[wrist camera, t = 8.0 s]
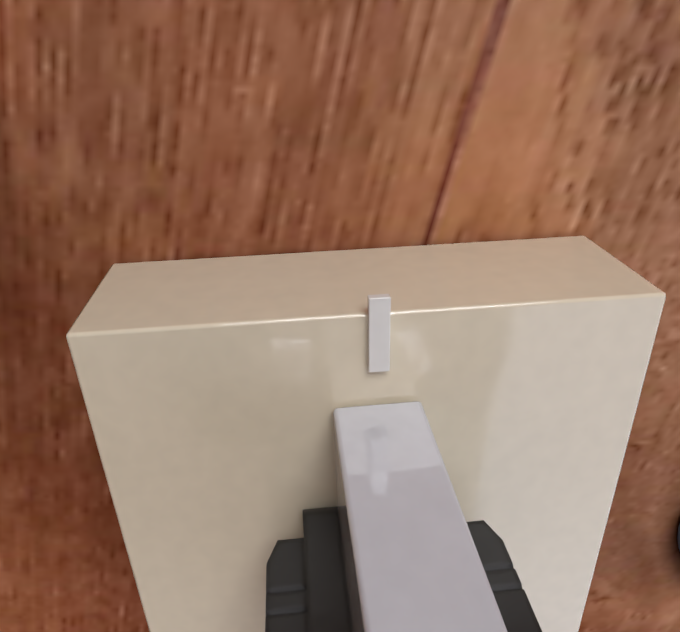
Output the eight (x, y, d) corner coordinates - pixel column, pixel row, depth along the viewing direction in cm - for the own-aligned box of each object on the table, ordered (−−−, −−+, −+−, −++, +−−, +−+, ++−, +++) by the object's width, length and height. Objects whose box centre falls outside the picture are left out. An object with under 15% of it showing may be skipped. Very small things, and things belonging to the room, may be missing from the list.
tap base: (108, 246, 12) (54, 319, 9) (588, 218, 12) (679, 278, 9) (187, 598, 16) (169, 716, 14) (526, 563, 17) (574, 668, 14)
